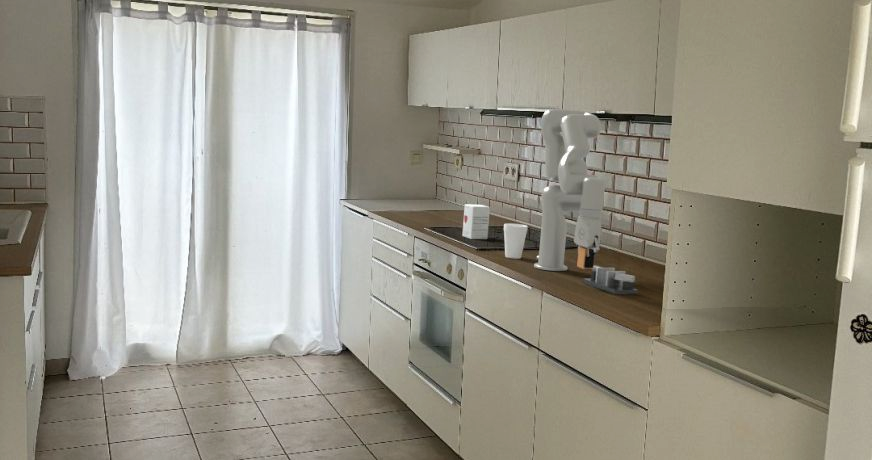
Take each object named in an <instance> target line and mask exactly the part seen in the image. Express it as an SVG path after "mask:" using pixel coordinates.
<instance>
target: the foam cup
mask: <svg viewBox="0 0 872 460" xmlns="http://www.w3.org/2000/svg"><path fill="white" fill-rule="evenodd" d="M527 233H528V225H526V224H519V223H504V224H503V235H504V256H505V257H506V258H510V259H521V258H522V254H523V251H524V245H525V242H526V237H527V236H526V235H527Z"/></svg>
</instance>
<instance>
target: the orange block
mask: <svg viewBox="0 0 872 460" xmlns="http://www.w3.org/2000/svg"><path fill="white" fill-rule="evenodd" d="M591 250H592V249H590V251H591ZM585 256H587V248H585V247H582V246H579V252H577V259H578V261H576V262H577V263H576V266H577V268H579V269H583V270H588V269H589V270H592V269H593V268H585V267H584V265H585ZM594 265H595V264H593V266H594Z"/></svg>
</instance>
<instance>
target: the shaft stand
mask: <svg viewBox="0 0 872 460" xmlns="http://www.w3.org/2000/svg"><path fill="white" fill-rule="evenodd" d="M626 273H627V272H626V271H625V270H624V271H623V270H616V268H615V267H603V266H599V265H595V264H594V265H593V269H591V272H590V278H588V277H587V278H586V277H585V278H582V283H583V284H585V285H587V286H590V287H593V288H595V287H596V289H598V288H599V290H601V289H602V290H601V291H603V290H605V291H604V292H606V291H607V293H609V292H610V293H609V294H611V293H612V295H614V294H617V295H618V294H619V295H621V294H623V295H624V296H625V295H638V292H639V291H638V289H637V288H635V279H636V276H635V275H630V274H628V273H627V274H626ZM619 295H618V296H619ZM621 296H622V295H621Z"/></svg>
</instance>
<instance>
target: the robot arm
mask: <svg viewBox="0 0 872 460" xmlns="http://www.w3.org/2000/svg"><path fill="white" fill-rule="evenodd" d="M600 121H601V120H600V119H599V117H598V116H597V115H595V114H592V113H591V112H589V111H587V110H586V111H585V110H577V109H566V108H565V109H564V108H551V109H550V108H549V109H547V110H545V112H544V113H543V114H542V118H541V120H540V125H541V126H540V127H541V128H540V130H541V134H542V137H543V141H544V149H545V150H544V151H545V152H544V153H545V158H544V159H545V163H544V165H545V166H544V167H545V169H544V170H545V171H544V172H545V176H546V177H545V178H546V180H548V181H550V182H554V183H559V185H558V184H553V185H548V186H545V187H544V188H543V189H542V191H541V210H542V211H541V213H542V214H541V227H540V228H541V230H540V239H539V240H540V242H539V251H538V255H537V256H536V259H537V260H538V262H535V263H534V264H533V267H534V268H535V269H539V270H542V271H543V270H544V271H548V272H549V271H551V272H553V271H554V272H562V271H568V266H567V265H565V264H564V262H565V251H566V242H567V230H568V223H567V219H566V218H565V216H564V215H563V212H574V213H575V212H577V213H578V212H579V213H578V214H579V215H578V217H577V220H576V225H575V230H574V236H573V242H574V244H575V245H576V248H577V252H576V253H578V252H579V246H582V247H585V248H587V256H585V265H584V267H585V268H593V266H594V265H595V264H594V263H595V257H596V254H597V253H598V252H599V251H600V245H601V237H602V215H603V205H604V199H605V188H606V181H605V180H604V179H603V178H601V177H599V176H598V175H596V174H589V171H588V165H587V162H586V161H585V160H584V158H586V157H587V156H588V155H589V154H590V151H591V149H590V144H589V139H597V138H598V137H599V136H600V134H601V131H602V126H601V125H602V124H601V122H600ZM590 249H592V250H591V251H590ZM577 261H578V258H577ZM577 261H576V262H577ZM593 264H594V265H593Z"/></svg>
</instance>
